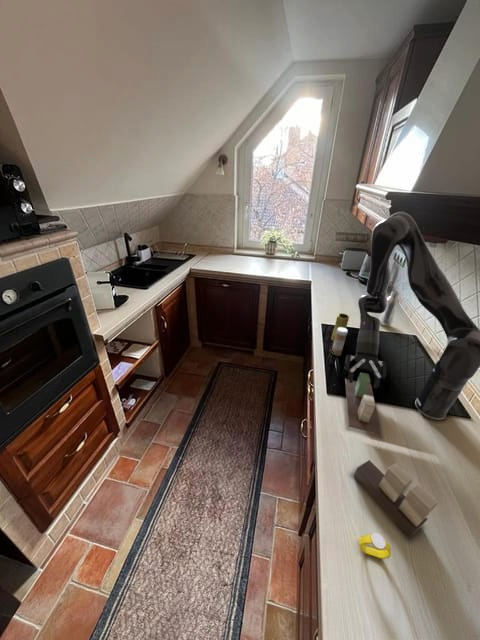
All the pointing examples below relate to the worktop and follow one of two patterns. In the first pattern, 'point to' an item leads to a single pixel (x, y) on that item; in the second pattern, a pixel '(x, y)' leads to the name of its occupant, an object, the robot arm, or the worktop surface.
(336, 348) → the sprinkles bottle
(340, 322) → the vase
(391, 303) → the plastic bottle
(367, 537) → the watch
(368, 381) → the green flat piece
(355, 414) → the near board
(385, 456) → the worktop surface
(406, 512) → the stand
